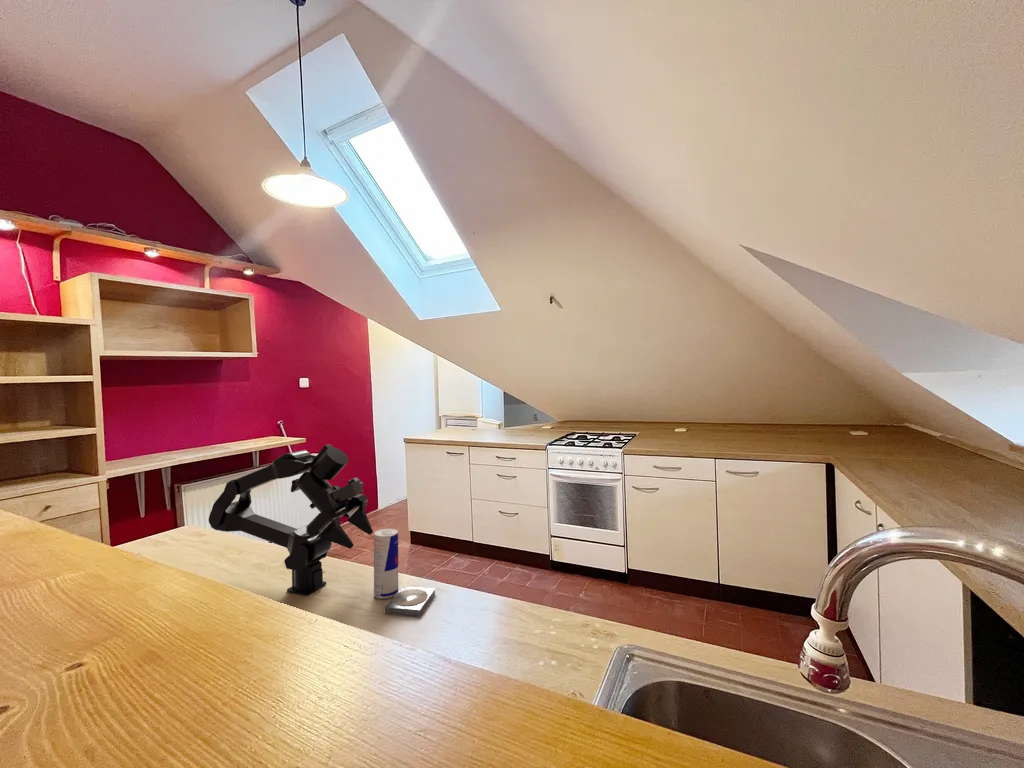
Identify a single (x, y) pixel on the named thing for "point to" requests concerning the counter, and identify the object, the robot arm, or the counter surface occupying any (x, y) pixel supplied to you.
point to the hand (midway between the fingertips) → (362, 540)
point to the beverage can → (385, 563)
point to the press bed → (410, 601)
